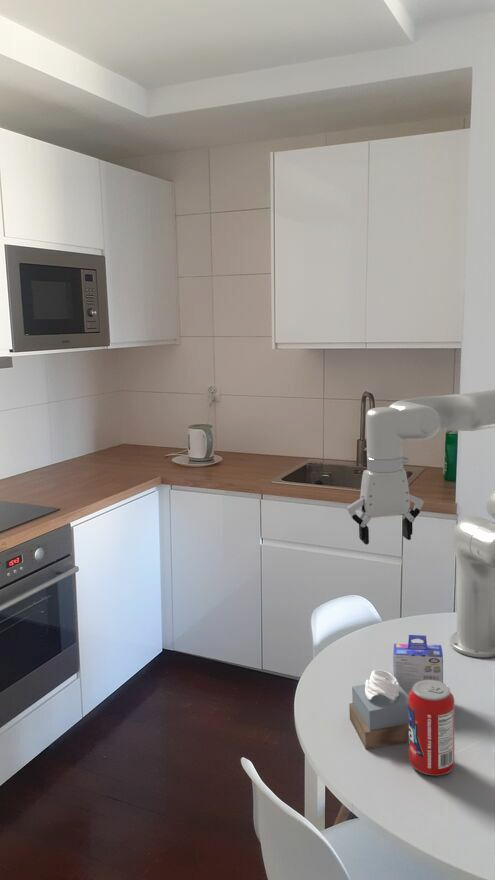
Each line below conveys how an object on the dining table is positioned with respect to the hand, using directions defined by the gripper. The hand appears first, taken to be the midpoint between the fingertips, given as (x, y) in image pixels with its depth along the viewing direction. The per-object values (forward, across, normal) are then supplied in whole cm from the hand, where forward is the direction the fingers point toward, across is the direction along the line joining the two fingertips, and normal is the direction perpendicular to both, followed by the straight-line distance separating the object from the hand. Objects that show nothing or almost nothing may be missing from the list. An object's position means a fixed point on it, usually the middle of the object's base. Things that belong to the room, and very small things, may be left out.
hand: (386, 540), depth 154 cm
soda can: (+31, +5, +35) cm, 46 cm away
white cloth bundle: (+23, +10, +22) cm, 33 cm away
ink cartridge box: (+31, -1, +16) cm, 34 cm away
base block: (+31, +10, +22) cm, 39 cm away
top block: (+27, +10, +22) cm, 36 cm away
